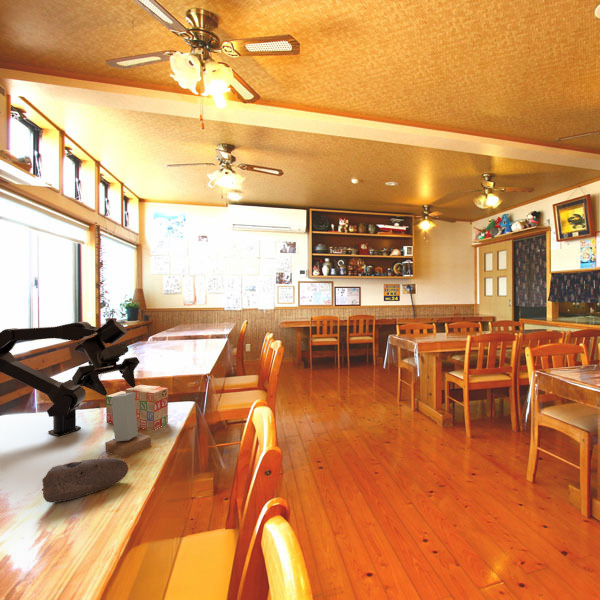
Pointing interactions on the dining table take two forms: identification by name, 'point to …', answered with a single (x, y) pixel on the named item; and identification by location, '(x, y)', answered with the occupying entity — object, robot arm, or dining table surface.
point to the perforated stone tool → (82, 478)
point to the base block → (128, 445)
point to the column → (124, 416)
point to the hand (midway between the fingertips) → (120, 390)
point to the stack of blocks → (145, 406)
